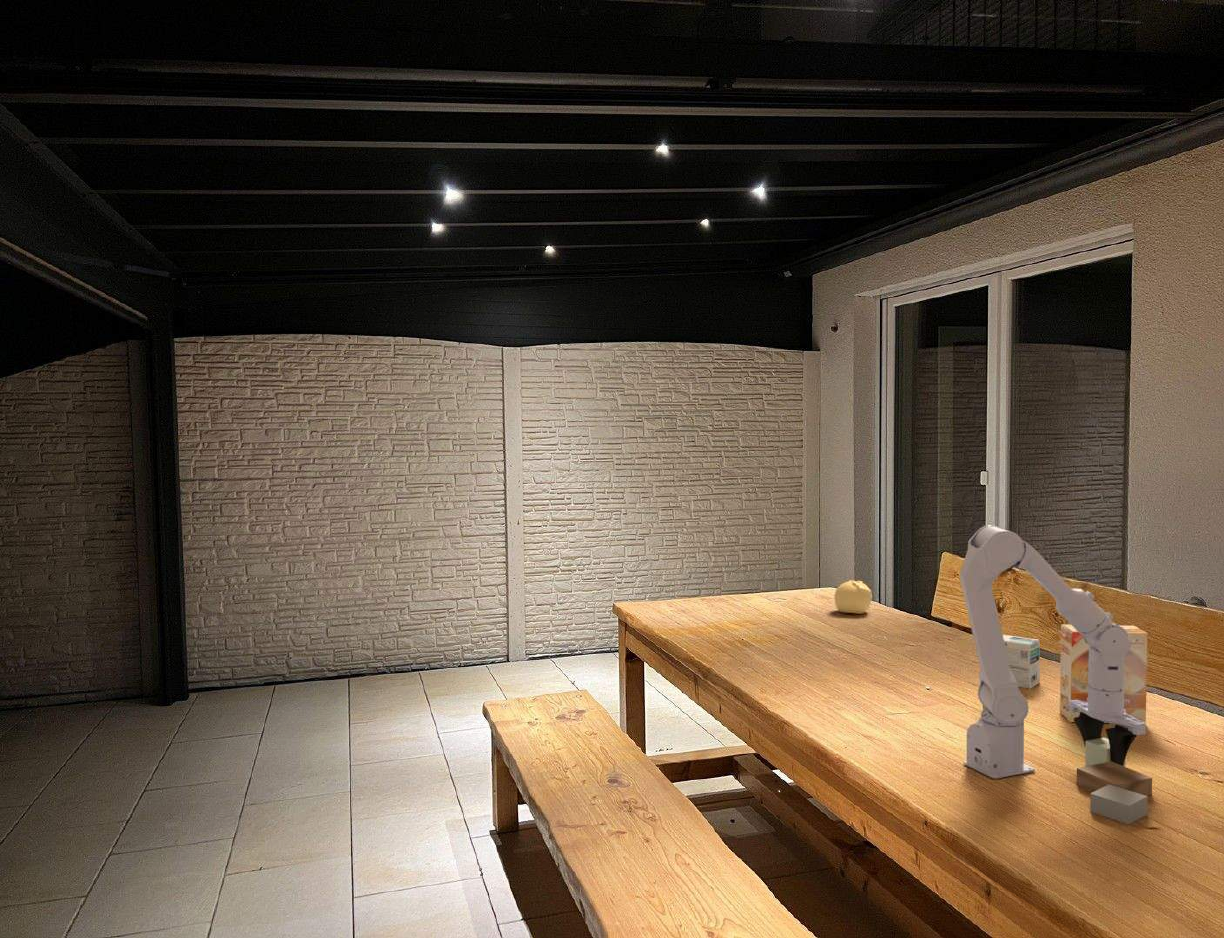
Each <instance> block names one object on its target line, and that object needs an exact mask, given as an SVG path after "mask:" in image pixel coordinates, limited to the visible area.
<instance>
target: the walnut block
mask: <svg viewBox="0 0 1224 938" xmlns="http://www.w3.org/2000/svg"><path fill="white" fill-rule="evenodd" d="M1078 785H1079V786H1078ZM1107 785H1113V786H1116V787H1119V788H1122V789H1126V790H1129V791H1132V792H1135V793H1138V794H1142V795H1145V796H1147V797H1150V796H1149V795H1151V796H1152V795H1153V777H1151V776H1148V775H1146V774H1144V773H1141V772H1139V771H1136V770H1135V769H1131V768H1129V767H1126V766H1125V767H1124V766H1122V765H1119V764H1117V763H1114V762H1112V761H1110V762H1105V763H1100V764H1095V765H1090V766H1085V765H1084V766H1081V767H1080V766H1079V767H1076V786H1078V787H1080V786H1081V787H1080V788H1083V789H1085V788H1086V789H1085V790H1087V789H1088V790H1087V791H1089V790H1090V791H1089V792H1091V793H1092V792H1095V791H1097V790H1099V789H1101V788H1103V787H1105V786H1107Z"/></svg>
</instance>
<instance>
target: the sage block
mask: <svg viewBox="0 0 1224 938" xmlns="http://www.w3.org/2000/svg"><path fill="white" fill-rule="evenodd" d="M1084 747H1085V755H1084V756H1085V757H1084V760H1085V761H1084V763H1085V765H1084V767H1085V766H1090V765H1095V764H1100V763H1105V762H1110V761H1111V760H1110V744H1109V740H1108V737H1101V738H1099V739H1093V740H1088V741H1086V746H1085V745H1084ZM1123 766H1124V767H1126V760H1125V761H1124V765H1123Z"/></svg>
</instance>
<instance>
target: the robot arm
mask: <svg viewBox="0 0 1224 938" xmlns="http://www.w3.org/2000/svg"><path fill="white" fill-rule="evenodd" d="M963 559H964V560H963V563H962V565H961V568H960V571H959V581H960V585H961V591H962V593H963V599H964V602H965V606H966V612H967V616H968V620H969V625H970V629H971V632H972V636H973V643H974V646H975V650H976V654H977V659H978V663H979V667H980V669H979V671H978V679H979V686H978V689H977V696H978V697H977V698H978V700H979V702H980V703H981V704H982V706H983V705H984V708H983V707H982V711H981V713H980V718H979V720H978V721H977V722H975V723H974V722H973V723H972V724H970V725H969V727H968V728H967V730H966V760H964V761H963V765H965V766H966V767H969V768H971V769H973V770H975V771H978V772H979V773H981V774H983V775H986V777H987V776H988V777H989V778H992V779H995V780H996V779H1001V778H1006V777H1011V776H1016V775H1022V774H1028V773H1033V772H1036V769H1035V768H1034V767H1032V766H1031V765H1028V764H1026V763H1025V759H1024V757H1025V756H1024V754H1025V753H1024V752H1025V751H1024V749H1025V748H1024V746H1025V743H1024V742H1025V719H1026V718H1027V716H1028V714H1029V702H1028V701H1027V698H1026V697H1025V695H1023V694H1022V692H1021V691H1020V687H1018V684H1017V681H1016V679H1015V677H1014V675H1013V673H1012V671H1011V668H1010V664H1009V660H1008V656H1007V651H1006V647H1005V643H1004V638H1003V635H1004V634H1003V631H1002V626H1001V625H1002V624H1001V623H1000V617H999V613H998V609H997V604H996V600H995V596H994V591H993V587H992V584H993V583H994V581H995V580H996V579H997V578H998V577H999V576H1000V575H1001V573H1003V572H1004V571H1006V570H1008V569H1009V568H1011V567H1012V566H1014V567H1016V568H1018V569H1020V570H1021V569H1022V570H1025V572H1027V573H1028V574H1029V575H1030V576H1031V577H1032V578H1033V579H1034V580H1036V581H1037V582H1038V584H1040V585H1041V586H1042V588H1044V589H1045V590H1046V591H1047V592H1048V593H1049V594H1050V595H1051V596H1052V597H1053V598H1054V599H1055V608H1056V611H1057V612H1058V613H1059V614H1060V615H1061V616H1062V617H1063V619H1065V620H1066V621H1067V622H1068V624H1069V625H1072V626H1073V627H1074V628H1075V629H1076V630H1077V631H1078V632H1079V633H1080V634H1081V635H1082V636H1083V639H1084V641H1085V643H1087V644H1089V645H1090V646H1091V647H1093V648H1094V649H1093V648H1091V647H1089V662H1088V664H1089V667H1088V702H1083V701H1080V700H1071V701H1069V711H1071V712H1078V713H1080V715H1079V717H1076V718H1074V722H1075V723H1074V724H1075V725H1076V728H1078V730H1079V733H1080V735H1081V738H1082V740H1083V744H1084V747H1085V746H1086V741H1088V740H1093V739H1099V738H1102V733H1103V728H1104V726H1105V724H1104V722H1106V723H1109V724H1108V725H1112V726H1114V727H1111V728H1110V727H1109V728H1105V734H1106V735H1107V737H1106V738H1107V739H1108V740H1109V744H1110V760H1111V761H1112V762H1114V763H1117V764H1119V765H1122V766H1123V765H1124V761H1125V762H1126V756H1127V755H1128V753H1129V749H1130V747H1131V745H1132V744H1133V742H1134V741H1135V739H1136V738H1137V737H1138V736H1141V735H1146V733H1147V732H1146V731H1147V730H1146V729H1147V728H1146V724H1147V723H1144V722H1141V721H1139V720H1137V719H1135V718H1134V717H1132V716H1130V715H1128V714H1127V713H1126V710H1124V677H1125V664H1124V662H1125V654H1126V653H1127V652H1128V651H1129V649H1130V648H1131V644H1132V641H1130V640H1129V638H1128V633H1127V632H1126V630H1125V629H1123V628H1122V627H1120V626H1121V625H1120V626H1118V624H1117V623H1115V622H1113V619H1114V616H1113V615H1112V613H1110V612H1108V611H1107V612H1105V611H1104V610H1103V608H1102V607H1100V606H1099V604H1097V603H1096V601H1094V600H1095V598H1096V596H1094V595H1093V593H1091V592H1090V591H1088V590H1087V591H1085V590H1083V589H1082V588H1071V587H1070V586H1069V584H1068V583H1067V582H1066V581H1065V580H1064V579H1063V578H1062V577H1061V576H1060V575H1059V574H1058V573H1057V571H1056V570H1055V569H1054V567H1052V566H1051V565H1050V564H1049V563H1048V561H1046V559H1045V558H1044V557H1043V556H1042V555H1041V554H1040V552H1038V551H1037V550H1036V549H1035V548H1034V547H1033V546H1032V545H1031V544H1029V543H1027V542H1026V541H1024V540H1022V538H1021V536H1019V535H1018V534H1017V533H1015V532H1013V531H1010V530H1006V529H1003V528H1001V527H1000V526H998V525H994V524H989V525H988V524H987V525H983V526H981V527H980V528H979V529H978V530H977V531H976V532H975V533H974V534H973V535H972V536H971V538H970V539H969V540H968V543H967V551H966V554H965V557H964V558H963ZM1095 649H1096V650H1095Z"/></svg>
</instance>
